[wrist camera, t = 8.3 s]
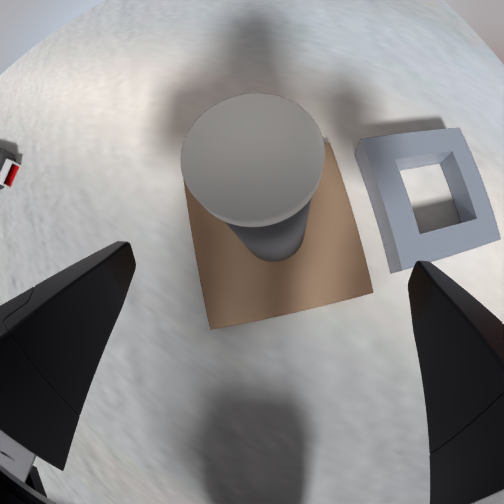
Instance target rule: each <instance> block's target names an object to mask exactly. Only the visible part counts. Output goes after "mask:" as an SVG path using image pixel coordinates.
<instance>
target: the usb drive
mask: <svg viewBox="0 0 504 504" xmlns="http://www.w3.org/2000/svg"><path fill="white" fill-rule="evenodd" d="M15 161H16V159H15V156H14V155H13V154H12V153H10V152H8V151H6V150H4V149H1V148H0V189H3V188H4V186H5V187H7V188H9V189H11V187H12V184H13V182H14V180H15V177H16V175H17V173H18V170H19V168H20V166H21V165H19V164H17V163H16V162H15Z"/></svg>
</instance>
